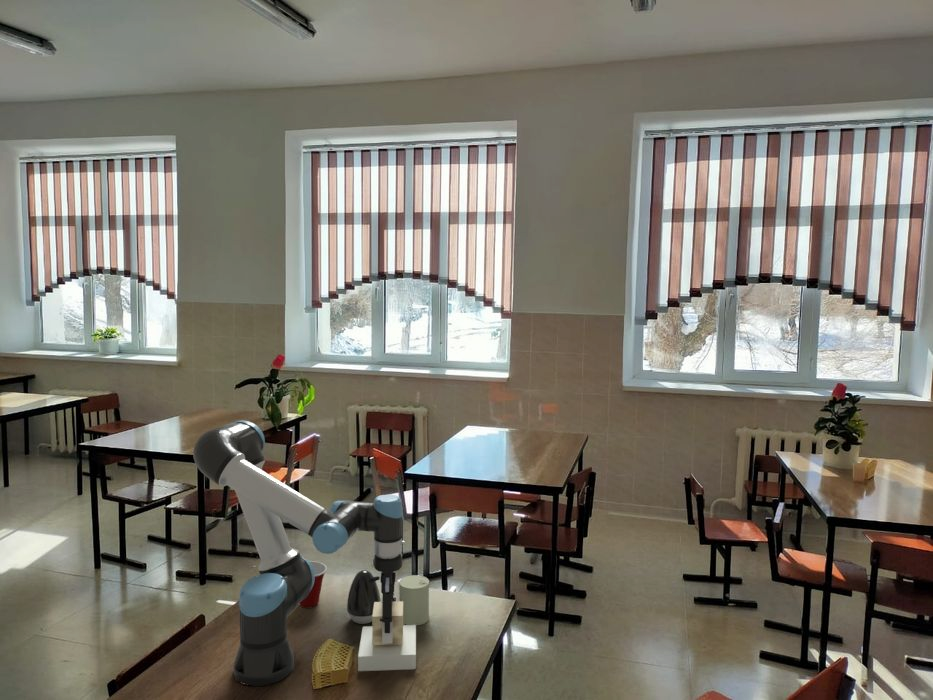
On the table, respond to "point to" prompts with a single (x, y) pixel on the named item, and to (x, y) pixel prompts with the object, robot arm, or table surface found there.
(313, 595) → the plastic cup
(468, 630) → the table surface
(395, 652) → the white square slab
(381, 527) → the robot arm
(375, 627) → the maple cube
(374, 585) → the pump dispenser
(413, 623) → the can
